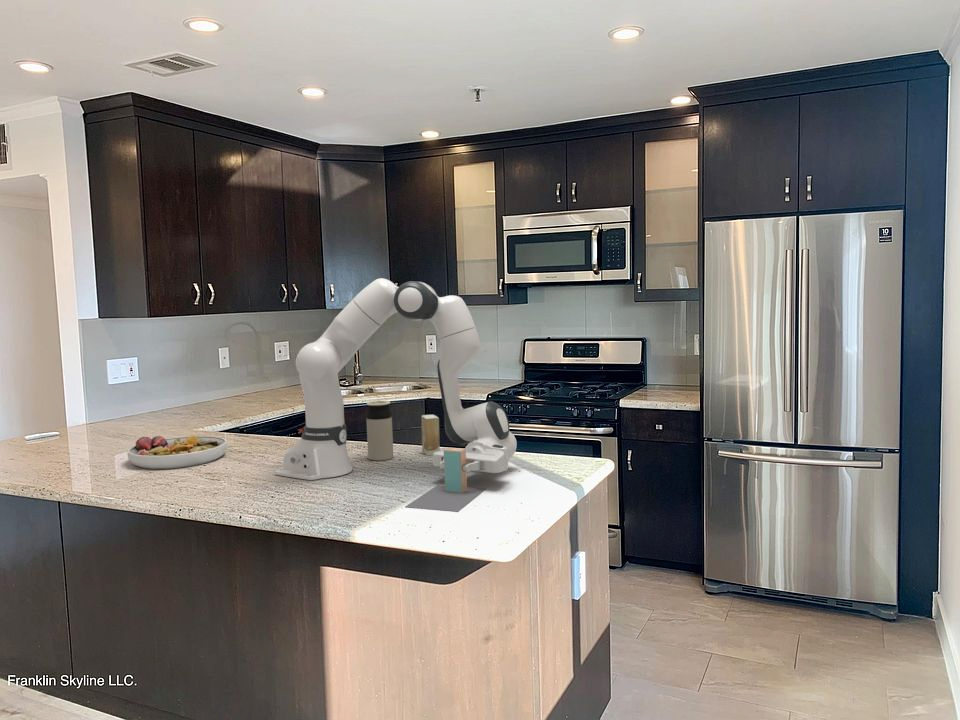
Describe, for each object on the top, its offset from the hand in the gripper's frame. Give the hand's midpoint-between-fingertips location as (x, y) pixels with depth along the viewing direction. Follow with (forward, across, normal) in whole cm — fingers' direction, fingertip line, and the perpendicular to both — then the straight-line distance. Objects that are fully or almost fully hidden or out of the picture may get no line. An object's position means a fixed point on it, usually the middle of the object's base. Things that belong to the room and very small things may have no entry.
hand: (453, 467), depth 184 cm
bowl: (+4, -104, +8) cm, 104 cm away
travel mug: (-24, -43, +7) cm, 49 cm away
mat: (+5, +1, +7) cm, 9 cm away
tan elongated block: (-1, 0, +6) cm, 7 cm away
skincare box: (-36, -32, +7) cm, 48 cm away
